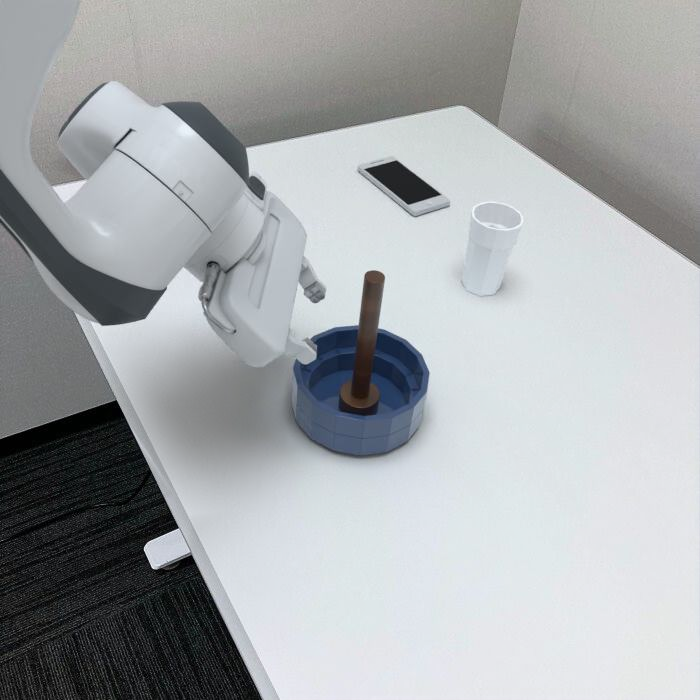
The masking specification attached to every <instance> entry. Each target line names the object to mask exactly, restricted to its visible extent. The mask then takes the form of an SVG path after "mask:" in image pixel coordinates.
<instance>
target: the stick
mask: <svg viewBox="0 0 700 700" xmlns="http://www.w3.org/2000/svg"><path fill="white" fill-rule="evenodd" d="M385 281H386V276H385V274H384V273H383V272H382V271H380V270H374V269H372V270H368V271H366V272H365V273H364V274H363V284H362V293H361V300H360V310H359V319H358V325H359V326H358V334H357V343H356V352H355V360H354V369H353V377H352V380H350V381H348V382H346V383H344V384H343V385H342V387H341V389H340V395H339V408H340V410H341V412H345V413H350V414H356V415H361V416H369V415H374V414H375V413H376V412H377V410H378V404H379V397H380V393H379V390H378V388H377V387H376V386H375V385H374V384H373V383H371V376H372V368H373V361H374V354H375V347H376V340H377V333H378V328H379V325H380V319H381V318H380V317H381V312H382V311H381V310H382V303H383V296H384V289H385Z"/></svg>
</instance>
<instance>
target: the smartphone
mask: <svg viewBox="0 0 700 700" xmlns="http://www.w3.org/2000/svg"><path fill="white" fill-rule="evenodd" d="M357 171H358V172H359V173H360V174H361V175H363V176H364V177H365V178H366V179H367V180H368V181H370V182H371V183H372V184H374V185H375V186H376V187H377V188H378V189H380V190H381V191H382V192H383V193H385V194H386V195H387V196H388V197H389V198H390V199H392V200H393V201H394V202H395V203H397V204H398V205H400V207H402V208H403V209H404V210H405V211H406V212H408V213H409V214H410V215H411V216H414V217H418V216H421V215H424V214H427V213H430V212H433V211H436V210H440V209H443V208H447V207H449V206H450V204H451V200H450V199H449V197H447V196H446V195H444V193H442V192H440V191H439V190H438V189H437V188H435V187H434V186H433V185H431V183H429V182H427V181H426V180H425V179H424V178H422V177H421V176H420V175H418V174H417V173H416V172H414V171H413V170H412V169H410V168H409V167H408V166H407V165H405V164H404V163H403V162H402V161H400V160H399V159H398V158H396V157H395V156H393V155H390V156H387V157H383V158H380V159H376V160H371V161H367V162H365V163H360V164H358V165H357Z"/></svg>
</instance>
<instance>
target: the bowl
mask: <svg viewBox="0 0 700 700" xmlns="http://www.w3.org/2000/svg"><path fill="white" fill-rule="evenodd" d="M358 326H359V324H356V325H354V324H353V325H345V326H344V325H343V326H334V327H332V328H328V329H327V330H324V331H322V332H319V333H317V334H315V335H313V336H312V337H310V338H309V339H310V340H311V341H312V342H313V344H316V345H317V348H318V349H317V356H316V359H315V360H314V361H312V362H310V363H309V364H302V363H301V362H300V361H299V360H297V359H296V358H295V360H294V363H293V366H292V382H291V383H292V384H291V406H292V410H293V415H294V419H295V422H296V423H297V424H298V425H299V427H300V428H301V429H302V430H303V431H304V433H305V434H306V435H307V436H308V437H309V439H311V440H312V441H315V442H316V443H319V444H320V445H322V446H324V447H326V448H328V449H329V450H331V451H333V452H338V453H339V452H340V453H344V454H350V455H355V456H367V455H368V456H369V455H375V454H382V453H387V452H389V451H391V450H393V449H395V448H397V447H400V446H401V445H404V444H405V443H407V442H409V440H410V439H411V437H413V435H414V433H415V432H416V431H417V430H418V428H419V427H420V426H421V422H422V417H423V414H424V413H423V412H424V408H425V404H426V398H427V395H428V389H429V382H430V375H431V374H430V370H429V368H428V365H427V363H426V361H425V358H424V356H423V354H422V353H421V352H420V351H419V350H418V349H417V348H416V347H414V345H413V344H411V342H409V341H408V340H407V339H406V338H403V337H401V336H399V335H397V334H395V333H393V332H391V331H388V330H386V329H384V328H379V327H378V333H377V340H376V347H375V354H374V361H373V368H372V376H371V383H373V384H374V385H375V386H376V387H377V388H378V390H379V393H380V397H379V404H378V410H377V412H376V413H375V414H374V415H369V416H361V415H356V414H350V413H345V412H341V410H340V408H339V395H340V389H341V387H342V385H343V384H344V383H346V382H348V381H350V380H352V377H353V369H354V360H355V352H356V343H357V334H358Z"/></svg>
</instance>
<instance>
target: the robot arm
mask: <svg viewBox="0 0 700 700" xmlns="http://www.w3.org/2000/svg"><path fill="white" fill-rule="evenodd" d="M80 5H81V0H0V225H1V226H2V227H3V229H4V230H5V231H6V232H7V233H8V234H9V235H10V236H11V238H12V239H13V240H14V242H15V243H16V244H18V246H19V247H20V249H22V251H24V253H25V254H26V255H27V257H28V258H29V260H30V261H31V262H32V263H33V264H34V265H35V267H36V269H37V271H38V272H39V274H40V277H41V278H42V279H43V282H44V283H45V284H46V285H47V287H48V288H49V290H50V291H51V292H52V293H53V294H54V296H55V297H57V299H59V300H60V301H61V302H62V303H63V304H64V305H65V306H66V307H67V308H68V309H70V310H71V311H72V312H74V313H75V314H77V315H78V316H80V317H82V318H83V319H85V320H87V321H90V322H93V323H95V324H99V325H100V326H102V327H109V326H110V327H111V326H120V325H125V324H131V323H135V322H139V321H143V320H146V319H147V317H148V316H149V315H150V313H151V312H152V310H153V309H154V308H155V306H156V305H157V304H158V302H159V301H160V300H161V298H162V297H163V295H164V294H165V293H166V291H167V290H168V286H169V285H170V284H171V282H172V281H173V280H174V279H175V278H176V277H177V275H178V274H179V273H180V272H182V269H185V270H186V271H187V272H188V273H190V275H192V277H194V278H195V279H197V280H198V281H199V282H201V284H202V285H201V286H200V287H199V290H198V295H197V298H198V300H199V301H200V303H201V308H202V310H203V316H204V317H205V320H206V321H207V323H208V325H209V327H210V328H211V329H212V330H213V332H214V333H215V334H216V335H217V336H218V337H219V338H220V340H221V341H222V342H223V343H224V344H225V345H227V347H228V348H229V349H230V350H231V351H232V352H233V353H234V354H235V355H237V356H238V358H240V359H241V361H243V362H244V363H245V364H247V366H249V367H252V368H264V367H265V366H267V365H269V364H270V363H273V362H274V361H275V360H277V359H278V358H280V357H281V356H283V355H284V356H285V355H286V356H291V357H294V358H295V360H296V359H297V360H299V361H300V362H301V363H302V364H309V363H310V362H312V361H314V360H315V359H316V356H317V349H318V348H317V345H316V344H313V342H312V341H311V340H310V339H311V338H309V337H305V338H304V339H300V338H296V337H295V336H296V333H295V332H294V331H293V330H292V329H291V322H292V317H293V313H294V308H295V307H294V306H295V302H296V297H297V291H298V285H300V286H301V288H302V289H303V295H304V297H305V298H307V299H308V300H309V301H310V302H311V303H313V304H318V303H320V302H321V301H323V300H324V299H325V298H326V293H327V285H325V284H324V283H323V282H322V281H321V280H320V279H319V278H318V275H317V273H316V272H315V270H314V268H313V267H312V264H311V262H310V260H309V259H308V258H307V257H305V256H304V254H305V249H306V244H307V239H308V234H307V232H306V230H305V229H306V228H305V227H304V225H303V223H302V222H301V221H300V219H299V218H298V217H297V216H296V215H295V213H293V212H292V210H291V209H290V208H289V207H288V206H287V205H286V204H285V203H284V201H282V200H281V199H280V198H279V197H278V196H277V195H276V194H275V193H273V192H272V191H269V190H268V184H267V182H266V181H265V179H264V178H263V177H262V176H261V175H260V174H259V173H257V172H256V171H252V172H250V166H249V165H250V164H249V158H248V152H247V147H246V146H245V145H244V144H242V142H241V141H240V140H239V139H238V138H237V137H236V136H235V135H234V134H233V133H232V132H231V131H230V130H229V129H228V128H227V127H226V126H225V125H224V124H223V123H222V122H221V121H220V120H219V119H218V118H217V117H216V116H215V115H214V114H213V113H212V112H211V110H209V109H208V108H207V107H206V106H205V105H204V104H203V103H201V102H200V101H184V100H183V101H182V100H180V101H168V102H162V103H161V104H160V106H152V105H150V104H149V103H148V102H146V101H145V100H144V99H143V98H141V97H140V96H138V95H137V93H135V92H133V91H132V90H131V89H129V88H128V87H127V86H125V85H124V84H123V83H121V82H120V81H117V80H110V81H107V82H103V83H101V84H99V85H98V86H97V87H95V89H94V90H92V91H91V92H90V93H89V94H88V95H87V96H86V97H84V99H83V100H81V102H80V103H79V104H78V106H76V107H75V109H73V111H72V112H71V113H70V115H69V117H68V119H67V120H66V121H65V122H64V123H63V125H62V126H61V128H60V129H59V132H58V137H57V144H56V145H57V148H58V149H59V150H60V152H61V153H62V154H63V155H64V157H65V158H66V159H67V160H68V161H69V163H70V164H71V165H72V166H73V168H75V169H76V170H77V171H78V173H79V174H80V175H81V177H83V179H85V180H86V182H84V184H83V185H82V186H81V187H80V188H79V189H78V190H77V191H76V192H75V194H73V196H71V197H70V198H69V199H68V200H66V201H63V199H62V198H61V197H60V195H59V194H58V193H57V191H56V190H55V189H54V188H53V186H52V185H51V183H50V182H49V181H48V179H47V178H46V177H45V175H44V174H43V173H42V171H41V170H40V169H39V167H38V166H37V164H36V163H35V160H34V158H33V156H32V150H31V134H32V128H33V122H34V119H35V115H36V112H37V108H38V105H39V103H40V100H41V97H42V94H43V91H44V88H45V86H46V83H47V81H48V79H49V77H50V74H51V72H52V70H53V67H54V66H55V63H56V61H57V60H58V58H59V55H60V53H61V51H62V49H63V47H64V45H65V43H66V42H67V39H68V38H69V35H70V34H71V31H72V29H73V26H74V25H75V22H76V19H77V16H78V12H79V9H80Z"/></svg>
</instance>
